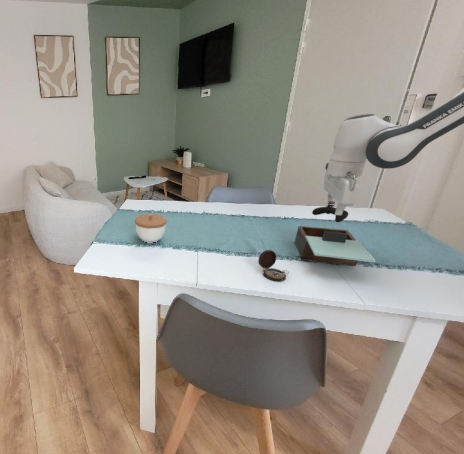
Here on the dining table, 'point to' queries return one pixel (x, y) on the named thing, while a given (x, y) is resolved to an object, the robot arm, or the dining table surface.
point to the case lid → (338, 247)
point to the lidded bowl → (150, 227)
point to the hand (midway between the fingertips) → (333, 210)
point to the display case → (307, 252)
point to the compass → (266, 262)
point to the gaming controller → (330, 212)
